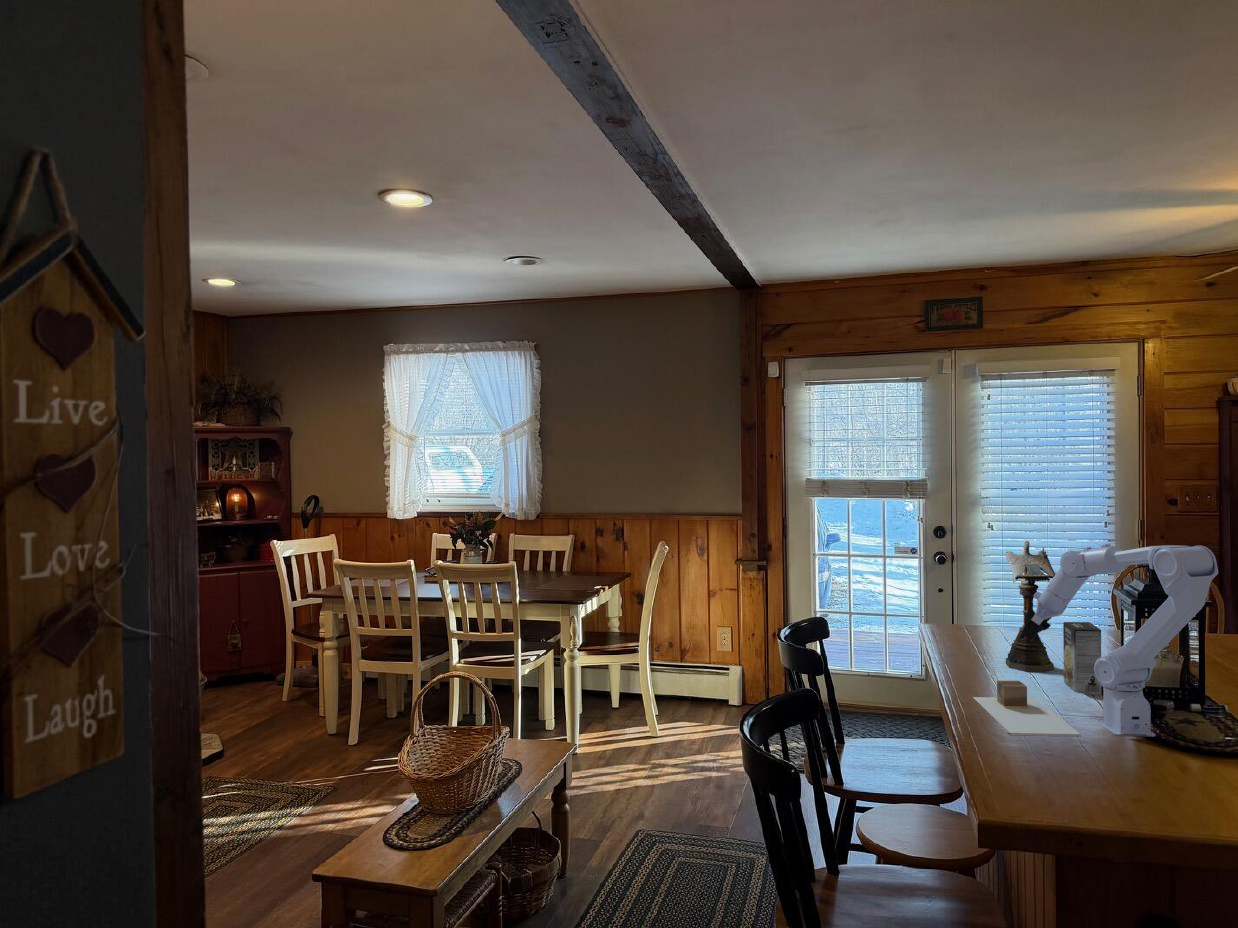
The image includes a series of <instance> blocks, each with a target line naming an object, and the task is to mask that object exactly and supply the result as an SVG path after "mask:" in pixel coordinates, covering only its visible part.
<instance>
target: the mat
mask: <svg viewBox="0 0 1238 928" xmlns="http://www.w3.org/2000/svg"><path fill="white" fill-rule="evenodd" d="M972 698H973V699H974V700H975V701H976V702H977V703H978V704H979V705H980V706H981V707H982V708H983V709H984V710H985V711H987V712H988V714H990V715H991V716H992V718H994V719H995V720H996V721H997V722H998V723H999V724H1000V725H1001V726H1002V727H1004V729H1005V730H1006V731H1008V732H1007V734H1008V735H1009V736H1011V737H1012V736H1013V737H1015V736H1016V737H1060V738H1061V737H1066V738H1081V737H1082V736H1081V733H1080V732H1078V731H1077V730H1076V729H1075V728H1074V727H1072V726H1071V725H1069V724H1068V723H1067V722H1066V721H1064V719H1062V718H1061V717H1059V716H1058V715H1057V714H1055V712H1053V711H1051V710H1050V709H1049V708H1048V707H1046V706H1045V705H1044V704H1043V703H1042V702H1040V701H1039V700H1037V699H1036V698H1035V697H1027V708H1004V707H1003V706H1002V705H1000V704H999V703H998V702H997V696H996V697H992V696H990V697H989V696H986V697H985V696H983V697H981V696H972Z"/></svg>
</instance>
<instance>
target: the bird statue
mask: <svg viewBox="0 0 1238 928" xmlns="http://www.w3.org/2000/svg"><path fill="white" fill-rule="evenodd" d="M1037 552H1038V553H1037V554H1032V553H1030V542H1029V540H1026V541H1024V543H1023V551H1022V554H1016V553H1014V552H1013V551H1006V552H1005V554H1004V555H1005V557H1006V560H1007V562H1008V564H1009V566H1010V569H1011V572H1012V582H1013V584H1014V583H1015V582H1016V581H1018V579H1020V584H1018V586H1017V587H1018V588H1019V592H1018V594H1019V595H1021V596H1023V597H1022V600H1023V609H1022V612H1021V613H1023V624H1022V625H1021V626H1020V627H1019V628H1018V633H1017V635H1016V637H1015V639H1013V643H1011V644H1010V645H1011V648H1010V650H1009V652H1008V653H1007V657H1006V658H1005V665H1006V666H1007V667H1008V668H1009V669H1012V670H1016V671H1017V670H1018V671H1020V672H1021V671H1022V672H1027V673H1028V672H1034V673H1035V672H1036V673H1046V672H1050V671H1054V670H1055V664H1054V663H1053V662H1052V661H1051V659H1050V657H1049V655H1048V652H1047V647H1046V646H1044V645H1045V643H1044V642H1043V641H1042V640H1041V637H1040V635H1039V633H1038V634H1036V635H1035V636H1034V637H1033V638H1031V639H1028V638H1027V637H1025V636H1024V635H1022V632H1023V629H1024V626H1025V623H1026V617H1025V615H1026V613H1027V611H1028V610H1029V609H1031V610H1032V611H1034V599H1035V598H1034V594H1035V593H1036V592H1038V591H1037V590H1038V589H1039V585H1038V584H1035V583H1036V582H1046V581H1047V582H1050V581H1051V579H1053V577H1054V576H1055V574H1056V572H1055V570H1054V569H1053V566H1052V565H1051V562H1050V560H1049V556H1048V554H1047V551H1045V547H1042V549H1041V550H1040V551H1039V550H1038V551H1037Z"/></svg>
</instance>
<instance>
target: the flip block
mask: <svg viewBox="0 0 1238 928" xmlns="http://www.w3.org/2000/svg"><path fill="white" fill-rule="evenodd" d="M996 697H997V702H998V703H999V704H1000V705H1002V706H1003V707H1004V708H1027V698H1028V686H1026V684H1024V683H1023V682H1022V681H1020V680H996Z"/></svg>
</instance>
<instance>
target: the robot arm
mask: <svg viewBox="0 0 1238 928" xmlns="http://www.w3.org/2000/svg"><path fill="white" fill-rule="evenodd" d="M1059 561H1060V562H1059V563H1060V568H1059V569H1058V570H1057V571H1056V572H1055V576H1054V577H1053V578H1051V579H1050V581H1049V583H1048V584H1047V586H1046V587H1045V588H1044V589H1043V591H1042V593H1041V592H1039V591H1037V592H1036V593H1035V594H1034V598H1033V599H1036V605H1035V607H1036V608H1035V611H1034V610H1033V611H1032V610H1031V609H1029V610H1028V611H1027V613H1026V615H1025V617H1026V623H1025V626H1024V629H1023V632H1022V635H1024V636H1025V637H1027V638H1028V639H1031V638H1033V637H1034V636H1035V635H1036V634H1038V635H1039V633H1041V632H1043V631H1046V630H1048V629H1049V628H1050V627H1051V626H1052V625H1051V623H1048V622H1049V621H1050V620H1051V619H1052V618H1054V617H1058V616H1060V615H1062V614H1063V613H1064V612H1065V610H1066V609H1067V607H1068V605H1069V604H1070V602H1071V601H1072V599H1073V598H1074V597H1075V596H1076V595H1077V594H1078V593H1077V592H1079V590H1080V589H1081V588H1082V586H1083V585H1084V583H1085V582H1086V581H1088V579H1090V577H1095V576H1097V575H1106V574H1118V573H1121V572H1123V571H1124V569H1125V568H1126V566H1133V565H1134V566H1135V565H1148V566H1149V569H1150V570H1154V571H1155V573H1156V575H1157V578H1158V580H1159V582H1160V584H1161V586H1162V588H1163V591H1164V593H1165V594H1166V595H1167V596H1168V597H1167V598H1166V600H1165V601H1164V602H1163V603H1162V604H1161V605H1160V606H1159V607H1158V608H1157V609H1156V610H1155V612H1153V614H1152V615H1150V617H1149V618H1148V619H1147V620H1146V621H1145V622H1144V623H1143V624H1142V626H1141V627H1140V628H1139V629H1138V630H1137V631H1136V632H1135V633H1134V634H1133V635H1132V637H1131V638H1130V639H1128V640H1127V642H1126V643H1125V644H1123V645H1122V646H1120V647H1118V648H1116V649H1114V650H1110V652H1109V653H1108V654H1107V655H1105V656H1101V657H1100V658H1099V659H1097V661H1096V662H1095V665H1094V672H1095V675H1096V677H1097V679H1098V681H1099V682H1100V683H1101V687H1103V688H1102V689H1103V690H1102V691H1103V693H1102V694H1103V698H1102V699H1103V703H1102V705H1103V719H1096V720H1095V721H1096V722H1097V723H1099V724H1100V725H1102V726H1103V727H1105V728H1106V730H1109V731H1110V732H1112V733H1113V734H1114V735H1115V736H1116V737H1144V736H1146V737H1156V736H1157V735H1156V733H1154V732H1153V731H1151V730H1152V729H1151V727H1152V726H1151V724H1152V722H1151V721H1152V720H1151V713H1152V712H1151V711H1152V710H1151V705H1150V703H1149V701H1148V700H1147V699H1146V698H1145V696H1144V693H1143V690H1144V688H1146V683H1147V682H1148V681H1150V679H1151V676H1152V672H1153V670H1154V668H1155V667H1156V666H1157V662H1156V660H1155V657H1157V656H1158V654H1159V653H1160V652H1162V650H1163V649H1164V648H1165V647H1166V646H1167V645H1168V644H1169V643H1170V642H1171V641H1172V640H1173V639H1174V638H1175V637H1176V636H1177V635H1178V633H1180V632H1181V631H1182V629H1183V628H1184V627H1185V626H1186V625H1187V624H1188V623H1189V622H1190V621H1191V620H1192V619H1193V618H1194V617H1195V616H1196V615H1197V614H1198V613H1199V612H1200V611H1201V610H1202V609H1203V607H1204V606H1205V604H1206V601H1207V597H1208V594H1209V592H1210V586H1211V583H1212V581H1213V580H1214V578H1215V577H1216V576H1218V574H1219V570H1218V569H1219V568H1218V563H1217V559H1216V555H1215V554H1214V553H1213V551H1212V550H1211V549H1210V548H1208V547H1206V546H1204V545H1193V546H1189V545H1169V544H1168V545H1166V544H1165V545H1164V544H1163V545H1150V546H1145V547H1138V548H1134V549H1133V548H1132V549H1127V550H1122V549H1121V548H1120V547H1118V546H1117V545H1116V546H1115V545H1112V544H1111V543H1104V544H1100V547H1095V548H1092V547H1091V546H1087V547H1083V549H1081V550H1068V551H1065V552H1064V553H1063V554H1062V555H1061V557H1060V560H1059Z"/></svg>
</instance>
